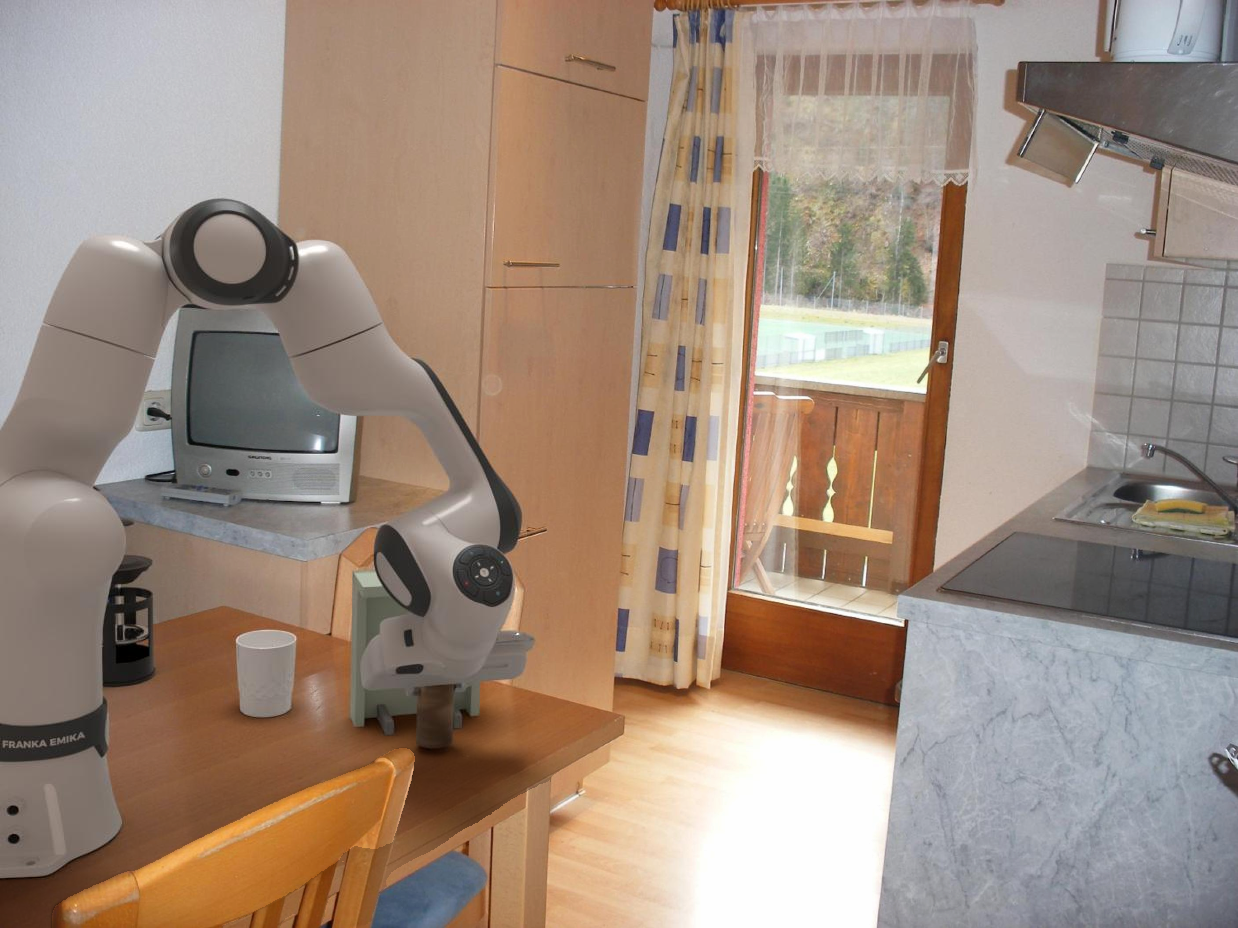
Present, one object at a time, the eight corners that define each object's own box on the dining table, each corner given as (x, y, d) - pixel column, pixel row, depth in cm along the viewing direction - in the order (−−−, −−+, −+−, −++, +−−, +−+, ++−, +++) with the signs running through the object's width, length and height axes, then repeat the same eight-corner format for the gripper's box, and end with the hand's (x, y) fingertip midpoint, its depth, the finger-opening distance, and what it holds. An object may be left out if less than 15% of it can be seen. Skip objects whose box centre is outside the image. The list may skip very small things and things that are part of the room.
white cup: (278, 722, 156) (279, 651, 155) (224, 715, 158) (224, 643, 156) (305, 702, 164) (306, 633, 162) (253, 695, 165) (254, 626, 164)
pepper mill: (420, 749, 148) (422, 666, 146) (412, 735, 152) (414, 654, 150) (456, 746, 150) (459, 663, 148) (447, 732, 154) (450, 651, 152)
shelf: (360, 738, 153) (363, 587, 149) (350, 716, 160) (352, 570, 156) (486, 726, 159) (492, 580, 156) (471, 704, 166) (476, 565, 163)
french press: (168, 665, 175) (167, 514, 171) (148, 687, 166) (146, 529, 162) (87, 663, 174) (84, 511, 170) (62, 685, 165) (58, 526, 161)
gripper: (534, 610, 145) (508, 660, 156) (367, 620, 138) (352, 672, 148) (543, 656, 142) (516, 704, 152) (373, 669, 134) (357, 718, 145)
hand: (434, 688), depth 150 cm, fingers closed on pepper mill, 5 cm apart
